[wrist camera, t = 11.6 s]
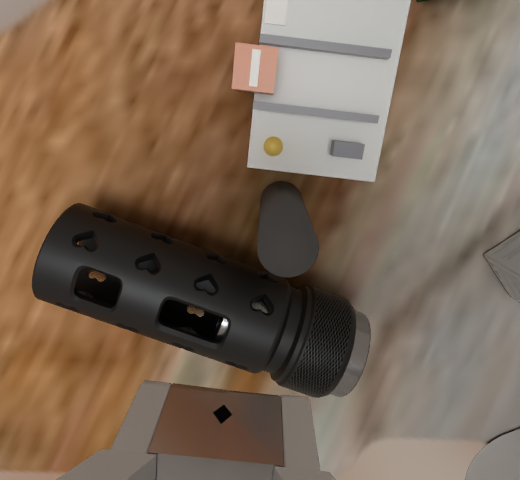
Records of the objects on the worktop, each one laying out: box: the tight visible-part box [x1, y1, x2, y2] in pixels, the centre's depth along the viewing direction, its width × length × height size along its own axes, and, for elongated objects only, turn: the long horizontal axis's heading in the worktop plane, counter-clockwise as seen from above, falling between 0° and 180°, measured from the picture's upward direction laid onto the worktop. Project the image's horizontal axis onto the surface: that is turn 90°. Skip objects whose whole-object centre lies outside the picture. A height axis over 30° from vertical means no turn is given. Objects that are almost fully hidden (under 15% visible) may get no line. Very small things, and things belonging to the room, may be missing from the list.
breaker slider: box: [232, 42, 279, 95], centre depth 31 cm, size 3×3×4 cm
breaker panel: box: [247, 0, 411, 182], centre depth 34 cm, size 11×14×6 cm
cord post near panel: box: [257, 181, 319, 277], centre depth 33 cm, size 4×4×14 cm
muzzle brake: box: [32, 203, 371, 398], centre depth 38 cm, size 10×28×10 cm, turn 69°
